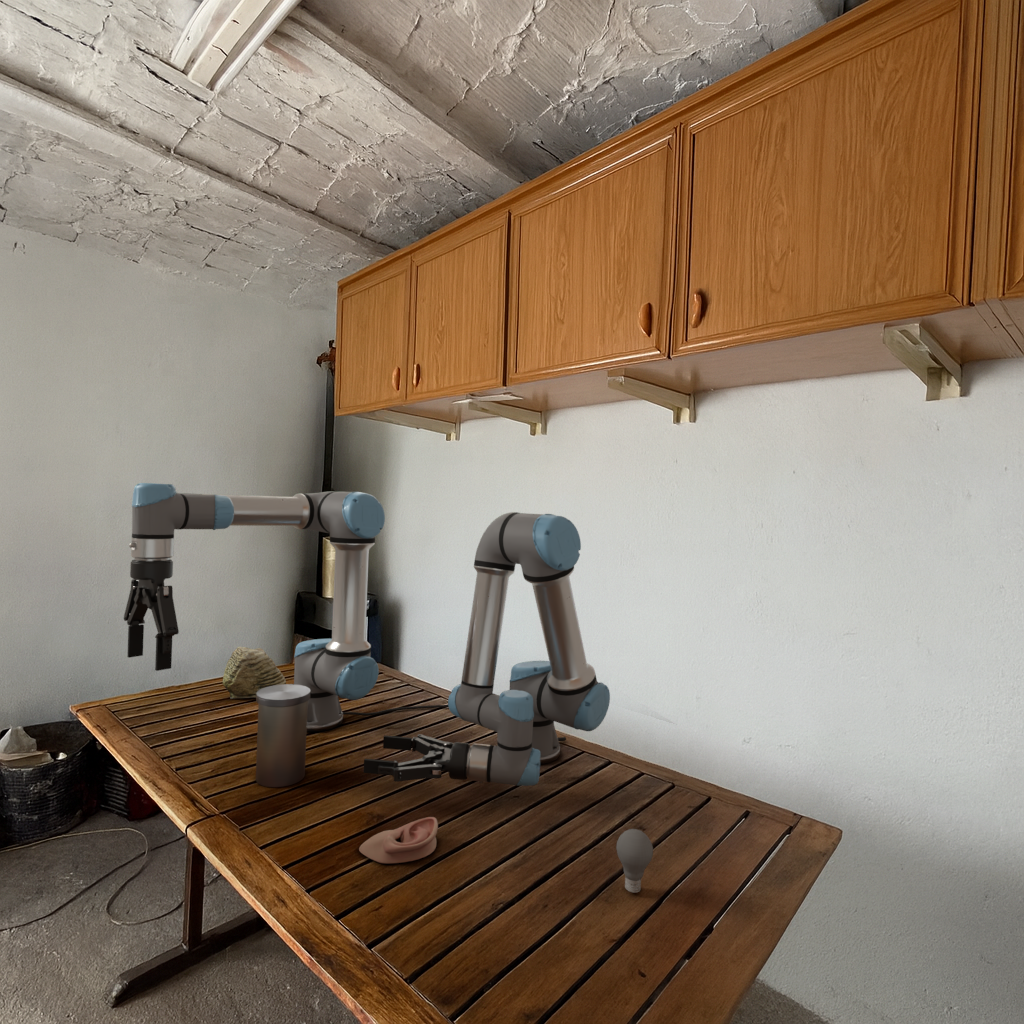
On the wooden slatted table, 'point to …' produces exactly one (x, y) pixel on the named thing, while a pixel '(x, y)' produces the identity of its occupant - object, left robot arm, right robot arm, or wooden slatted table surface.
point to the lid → (283, 695)
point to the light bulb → (634, 857)
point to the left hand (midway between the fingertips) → (148, 662)
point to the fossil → (250, 673)
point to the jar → (281, 745)
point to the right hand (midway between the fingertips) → (374, 753)
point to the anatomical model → (403, 842)
